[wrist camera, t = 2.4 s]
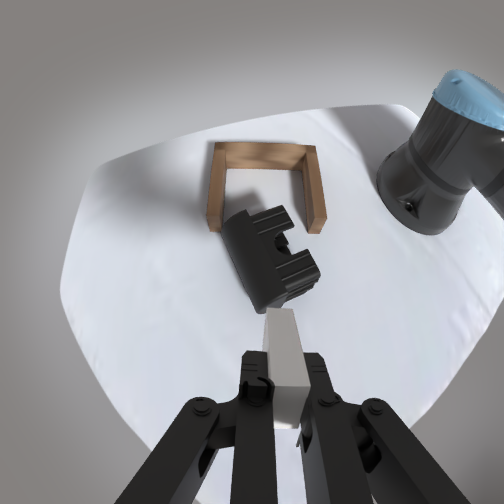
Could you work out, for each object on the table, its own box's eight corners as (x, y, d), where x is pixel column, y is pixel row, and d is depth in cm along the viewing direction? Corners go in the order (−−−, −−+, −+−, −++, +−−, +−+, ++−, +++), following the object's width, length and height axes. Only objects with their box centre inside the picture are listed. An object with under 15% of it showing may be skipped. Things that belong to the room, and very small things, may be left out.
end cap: (222, 246, 34) (217, 218, 28) (274, 226, 36) (279, 195, 30) (255, 319, 31) (258, 307, 25) (310, 295, 32) (325, 276, 26)
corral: (310, 163, 40) (315, 145, 36) (319, 233, 35) (327, 218, 32) (217, 161, 40) (215, 142, 36) (210, 231, 35) (206, 215, 31)
